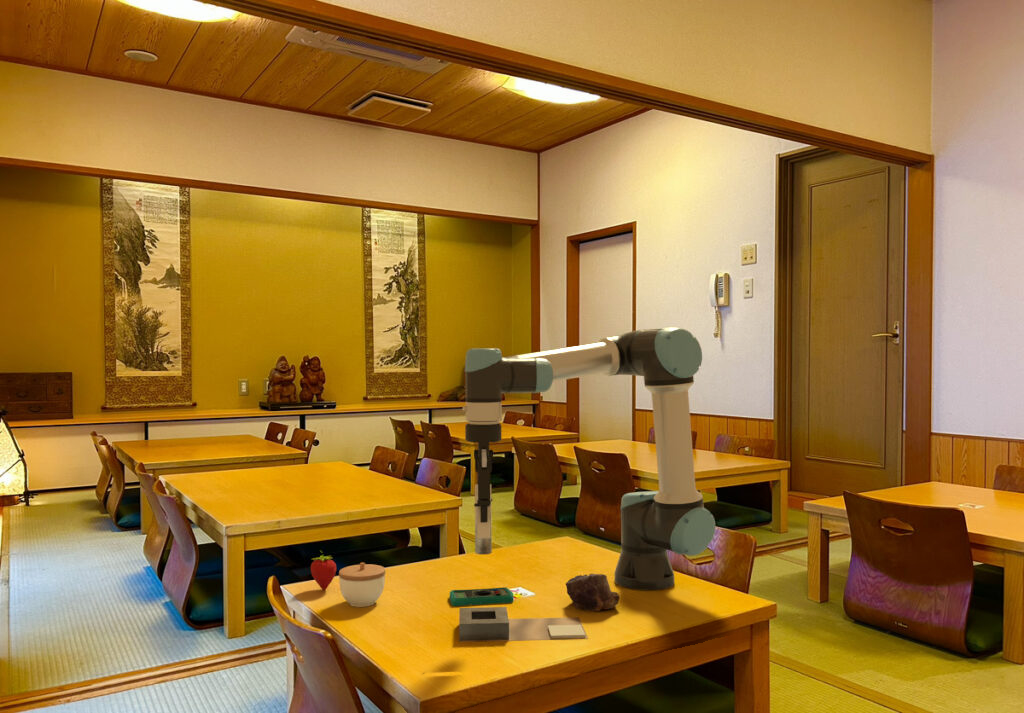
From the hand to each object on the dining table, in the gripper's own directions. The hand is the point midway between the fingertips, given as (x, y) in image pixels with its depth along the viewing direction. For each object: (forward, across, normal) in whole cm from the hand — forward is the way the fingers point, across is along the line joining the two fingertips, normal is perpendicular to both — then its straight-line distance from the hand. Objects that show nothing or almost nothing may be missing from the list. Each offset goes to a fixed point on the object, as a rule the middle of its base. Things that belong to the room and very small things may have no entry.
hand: (483, 535), depth 159 cm
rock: (+21, -14, +24) cm, 35 cm away
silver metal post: (+4, 0, 0) cm, 4 cm away
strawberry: (+21, -34, -39) cm, 56 cm away
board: (+21, -1, +8) cm, 22 cm away
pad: (+20, +2, +17) cm, 26 cm away
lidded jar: (+21, -23, -28) cm, 42 cm away
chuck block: (+20, 0, 0) cm, 20 cm away
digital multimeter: (+21, -22, 0) cm, 30 cm away
